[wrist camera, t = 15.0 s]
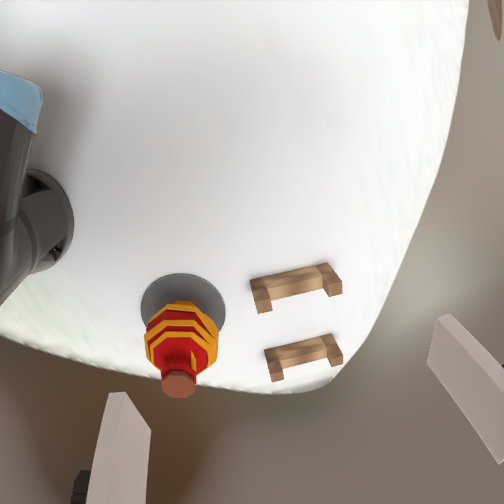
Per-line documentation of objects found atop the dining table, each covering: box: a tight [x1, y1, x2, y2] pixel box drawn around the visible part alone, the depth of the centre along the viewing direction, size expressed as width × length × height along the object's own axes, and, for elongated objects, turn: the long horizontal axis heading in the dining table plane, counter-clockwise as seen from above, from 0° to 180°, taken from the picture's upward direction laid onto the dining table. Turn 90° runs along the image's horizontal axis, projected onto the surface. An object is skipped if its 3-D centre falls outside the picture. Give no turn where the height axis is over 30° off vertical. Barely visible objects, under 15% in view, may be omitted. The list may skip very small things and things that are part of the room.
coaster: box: [141, 274, 225, 331], centre depth 47 cm, size 13×13×1 cm
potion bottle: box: [144, 301, 219, 398], centre depth 40 cm, size 10×10×15 cm
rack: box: [250, 263, 343, 382], centre depth 48 cm, size 12×16×6 cm
